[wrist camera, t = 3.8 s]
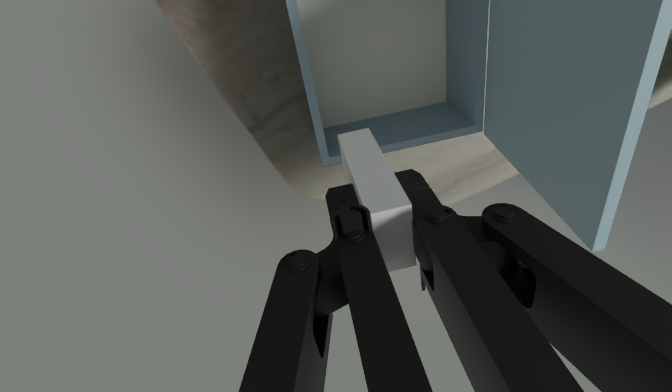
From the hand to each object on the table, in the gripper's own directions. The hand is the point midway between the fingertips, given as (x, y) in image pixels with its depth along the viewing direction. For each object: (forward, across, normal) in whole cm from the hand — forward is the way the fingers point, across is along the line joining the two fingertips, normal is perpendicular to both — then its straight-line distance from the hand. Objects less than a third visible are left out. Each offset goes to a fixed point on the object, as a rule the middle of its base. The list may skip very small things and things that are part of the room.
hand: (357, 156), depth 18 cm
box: (+24, +6, 0) cm, 25 cm away
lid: (+7, +14, 0) cm, 15 cm away
